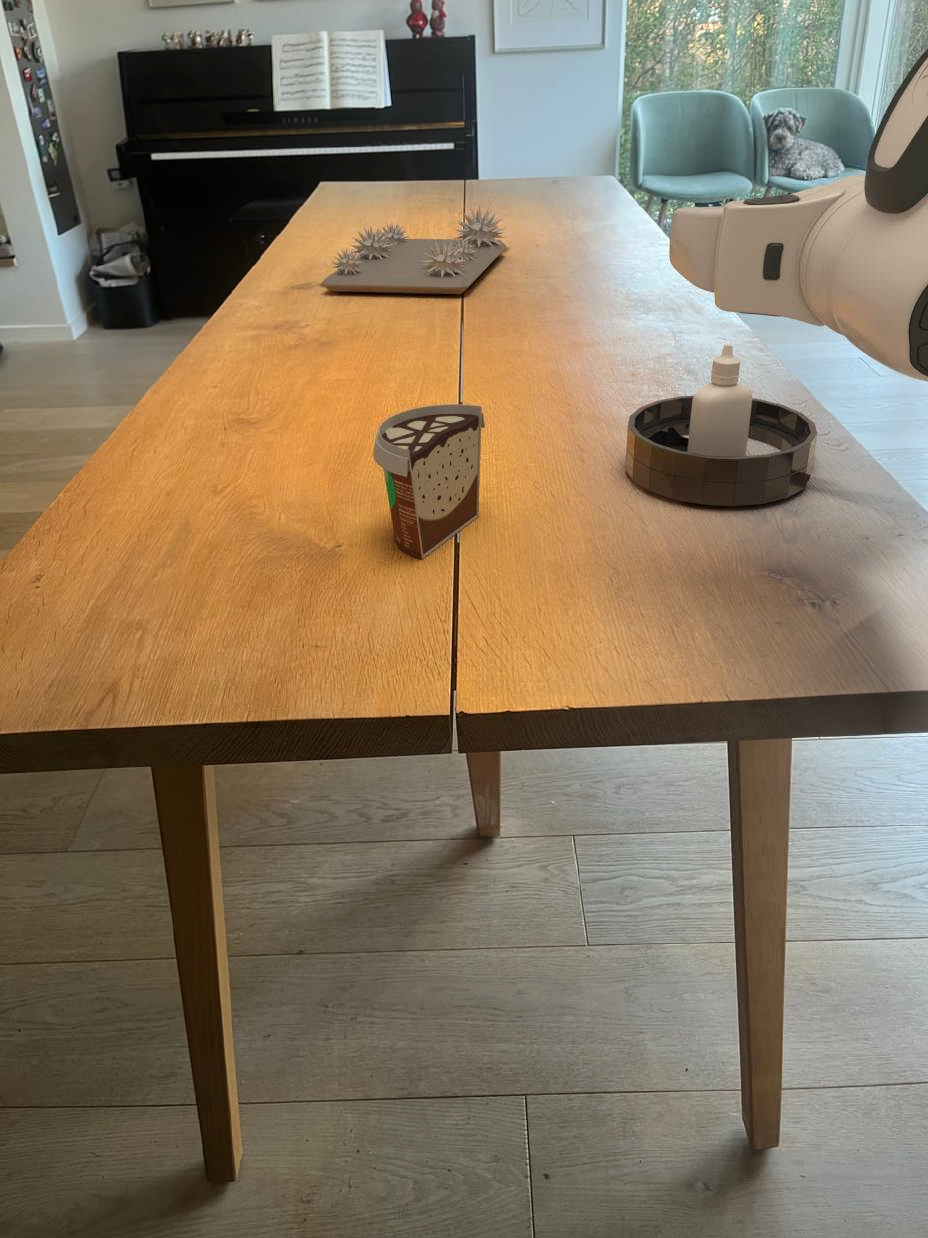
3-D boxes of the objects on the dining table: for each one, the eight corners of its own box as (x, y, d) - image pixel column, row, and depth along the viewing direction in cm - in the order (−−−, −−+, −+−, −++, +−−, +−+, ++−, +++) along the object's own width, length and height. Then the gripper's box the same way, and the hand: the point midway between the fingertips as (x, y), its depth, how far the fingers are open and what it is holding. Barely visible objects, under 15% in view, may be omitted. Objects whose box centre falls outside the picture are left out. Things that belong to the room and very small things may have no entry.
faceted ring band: (843, 472, 95) (852, 422, 92) (739, 528, 85) (746, 474, 82) (695, 429, 106) (700, 383, 103) (589, 474, 96) (591, 425, 94)
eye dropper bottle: (683, 460, 97) (694, 338, 91) (741, 460, 97) (756, 338, 90) (687, 477, 94) (698, 351, 87) (747, 478, 93) (763, 351, 87)
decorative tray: (382, 253, 194) (378, 199, 189) (511, 255, 188) (511, 199, 183) (320, 295, 165) (314, 232, 160) (471, 299, 159) (469, 234, 154)
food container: (430, 498, 93) (424, 394, 87) (486, 510, 90) (484, 404, 85) (351, 551, 84) (340, 439, 78) (412, 567, 81) (404, 451, 76)
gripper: (1039, 192, 60) (936, 165, 72) (704, 206, 59) (656, 176, 71) (1012, 299, 63) (918, 256, 75) (694, 312, 63) (650, 267, 74)
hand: (788, 217), depth 73 cm, fingers open, 8 cm apart
